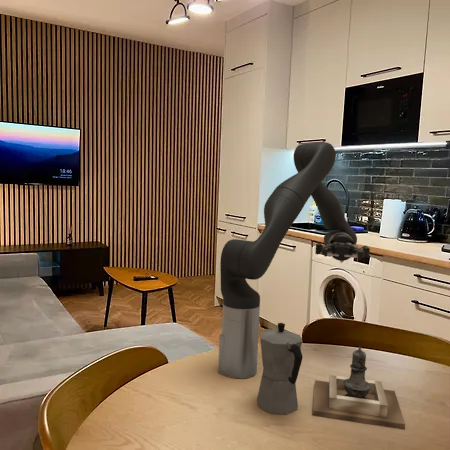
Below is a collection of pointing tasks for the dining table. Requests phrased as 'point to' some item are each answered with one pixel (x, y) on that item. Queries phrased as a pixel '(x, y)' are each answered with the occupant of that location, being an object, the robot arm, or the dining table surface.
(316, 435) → the dining table surface
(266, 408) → the coffeepot
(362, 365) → the salt shaker
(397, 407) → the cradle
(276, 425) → the dining table surface
